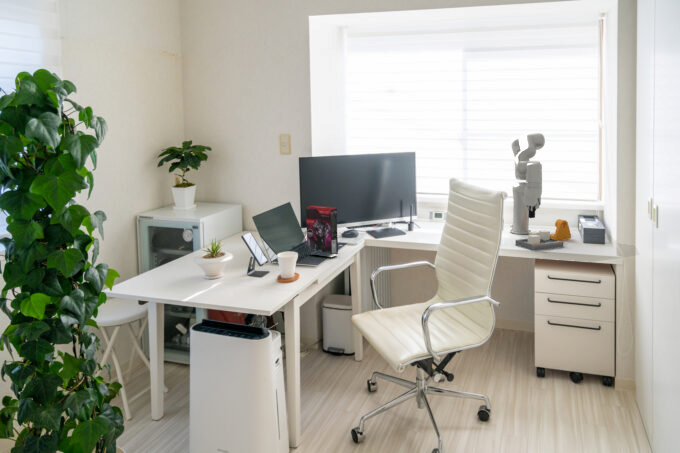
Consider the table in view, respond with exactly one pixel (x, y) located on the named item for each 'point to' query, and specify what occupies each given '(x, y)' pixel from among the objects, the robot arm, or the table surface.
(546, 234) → the switch tab
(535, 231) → the switch tab
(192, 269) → the table surface
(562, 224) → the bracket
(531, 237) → the switch tab
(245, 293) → the table surface
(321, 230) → the graphics card box
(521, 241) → the dark grey tray
